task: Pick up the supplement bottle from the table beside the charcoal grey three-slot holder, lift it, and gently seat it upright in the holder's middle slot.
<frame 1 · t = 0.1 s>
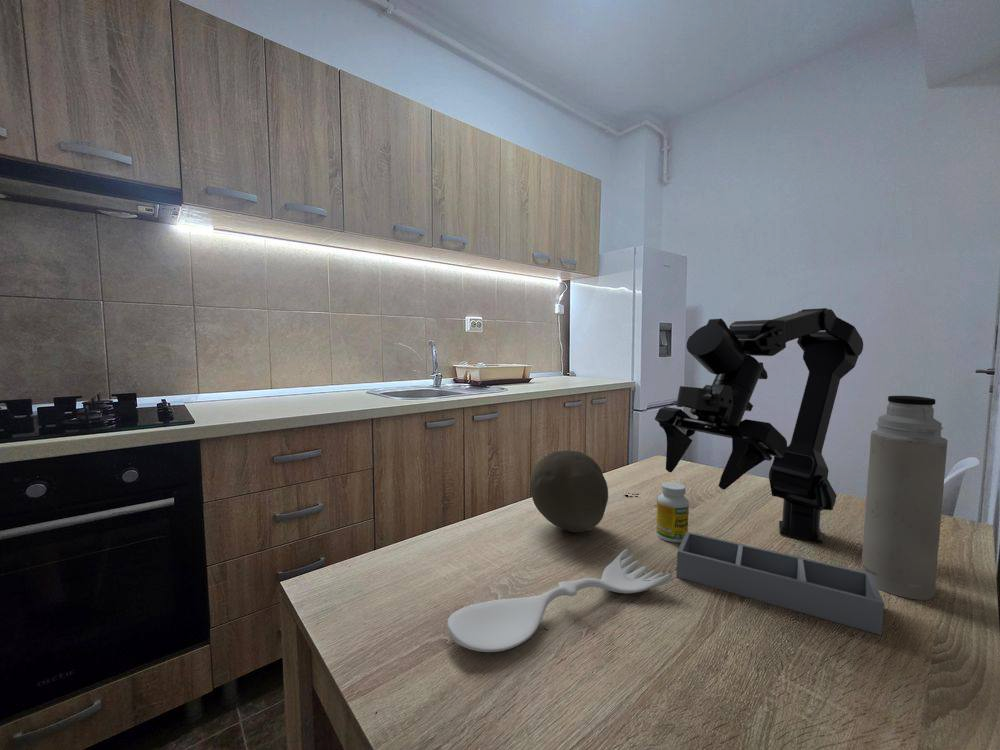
hand: (693, 479, 64), 15 cm above the table, tool tilted 30°, fingers open, 9 cm apart
slot holder: (768, 588, 61), on the table
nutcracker: (656, 506, 93), on the table
spoon: (563, 612, 56), on the table
thermos bottle: (895, 585, 63), on the table
brown coconut: (568, 530, 80), on the table
supplement bottle: (671, 537, 78), on the table
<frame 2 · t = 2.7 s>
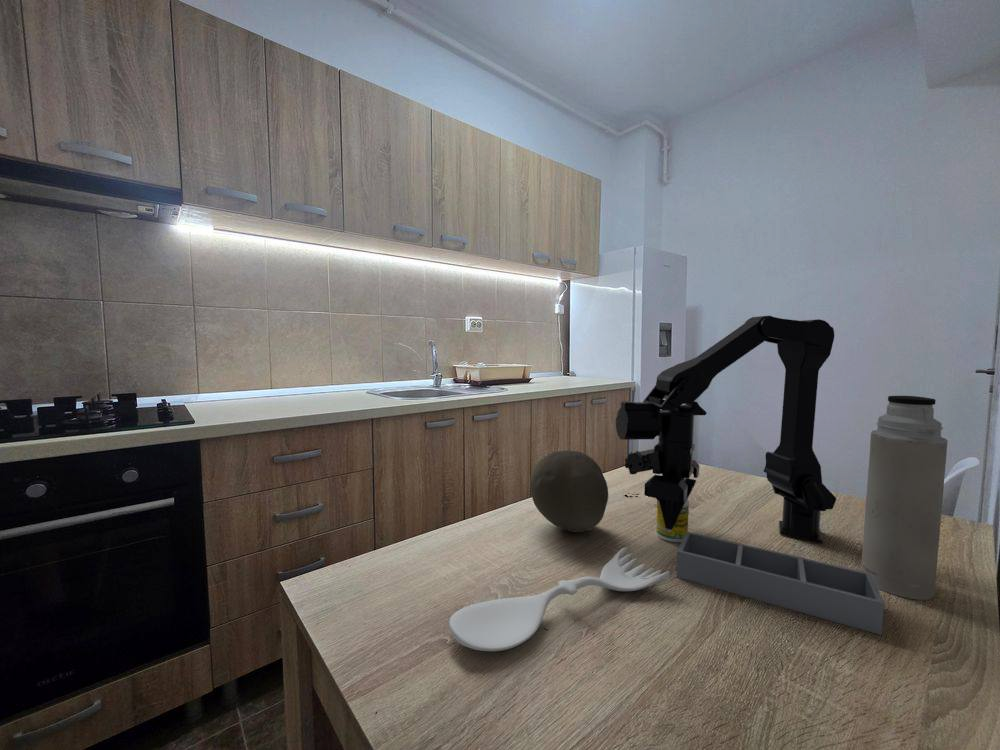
hand: (672, 523, 77), 3 cm above the table, tool pointing down, fingers closed on supplement bottle, 5 cm apart
supplement bottle: (671, 537, 78), on the table, touching gripper
everything else where it was.
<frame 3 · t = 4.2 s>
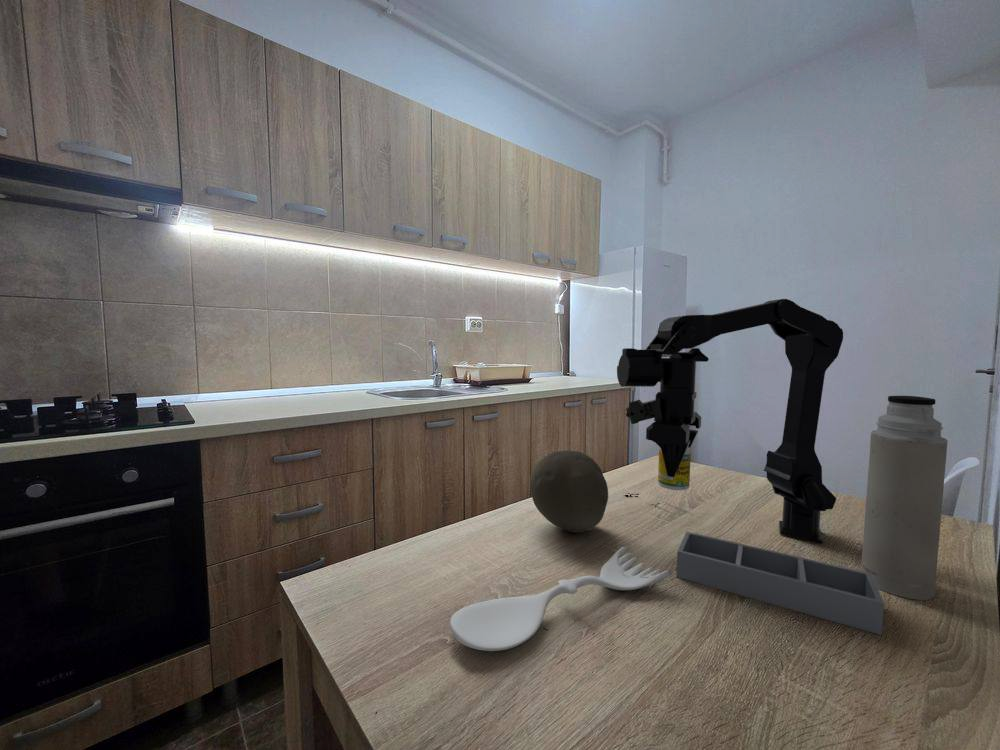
hand: (674, 472, 77), 12 cm above the table, tool pointing down, fingers closed on supplement bottle, 5 cm apart
supplement bottle: (673, 487, 77), point 9 cm above the table, touching gripper
everything else where it was.
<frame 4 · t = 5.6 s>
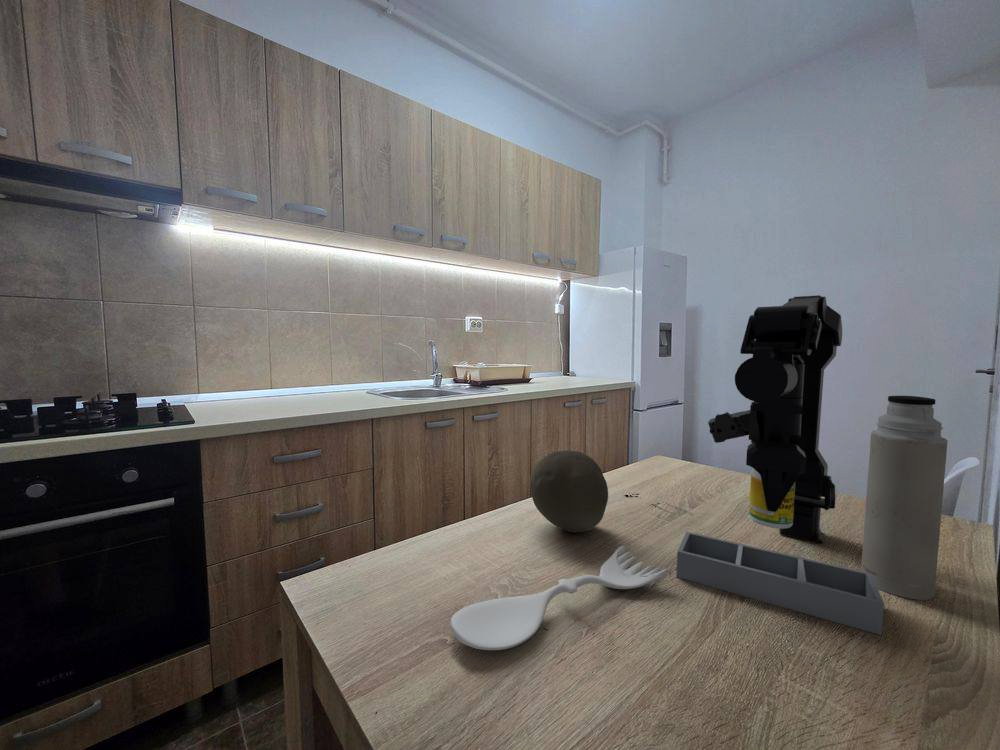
hand: (771, 504, 60), 12 cm above the table, tool pointing down, fingers closed on supplement bottle, 5 cm apart
supplement bottle: (770, 523, 61), point 10 cm above the table, touching gripper
everything else where it was.
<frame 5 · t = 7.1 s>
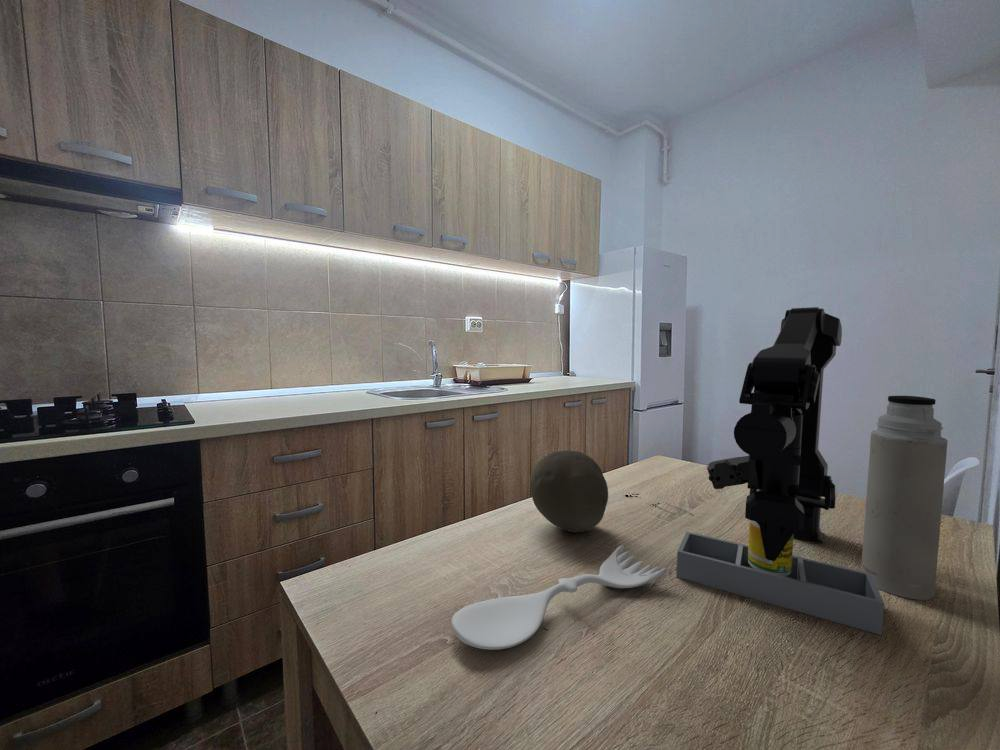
hand: (770, 551, 61), 6 cm above the table, tool pointing down, fingers closed on supplement bottle, 5 cm apart
supplement bottle: (768, 569, 61), point 3 cm above the table, touching gripper
everything else where it was.
when the fingers open (5 cm above the table, at t = 8.4 s): supplement bottle drops 1 cm, resting on slot holder.
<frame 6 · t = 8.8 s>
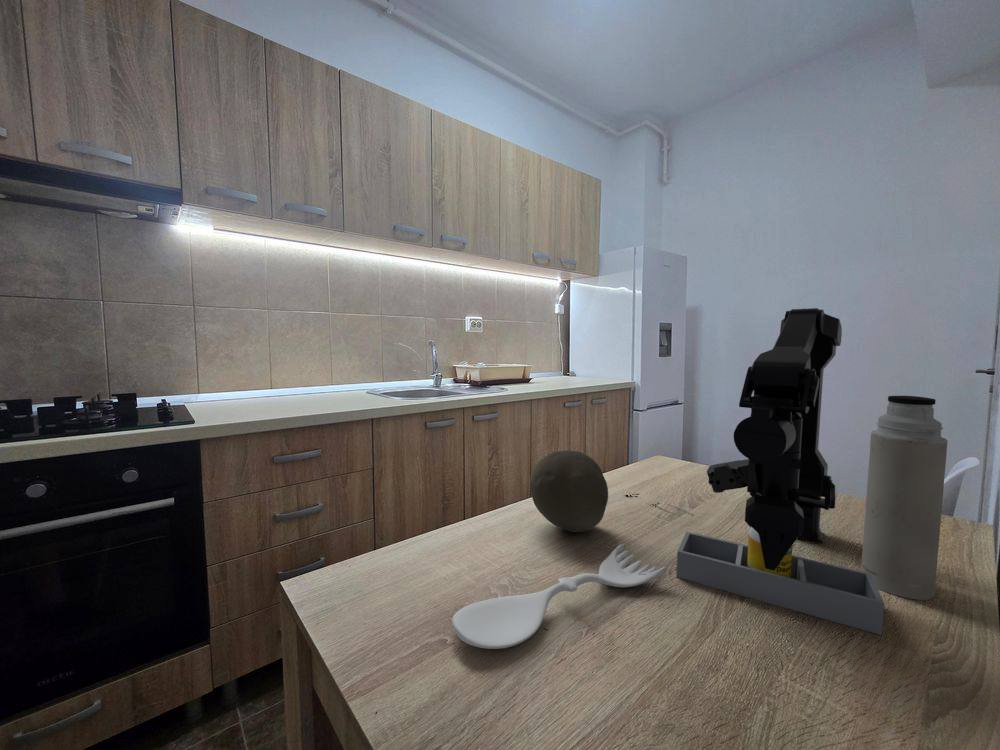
hand: (769, 555, 61), 5 cm above the table, tool pointing down, fingers open, 9 cm apart
supplement bottle: (767, 582, 61), point 1 cm above the table, touching slot holder
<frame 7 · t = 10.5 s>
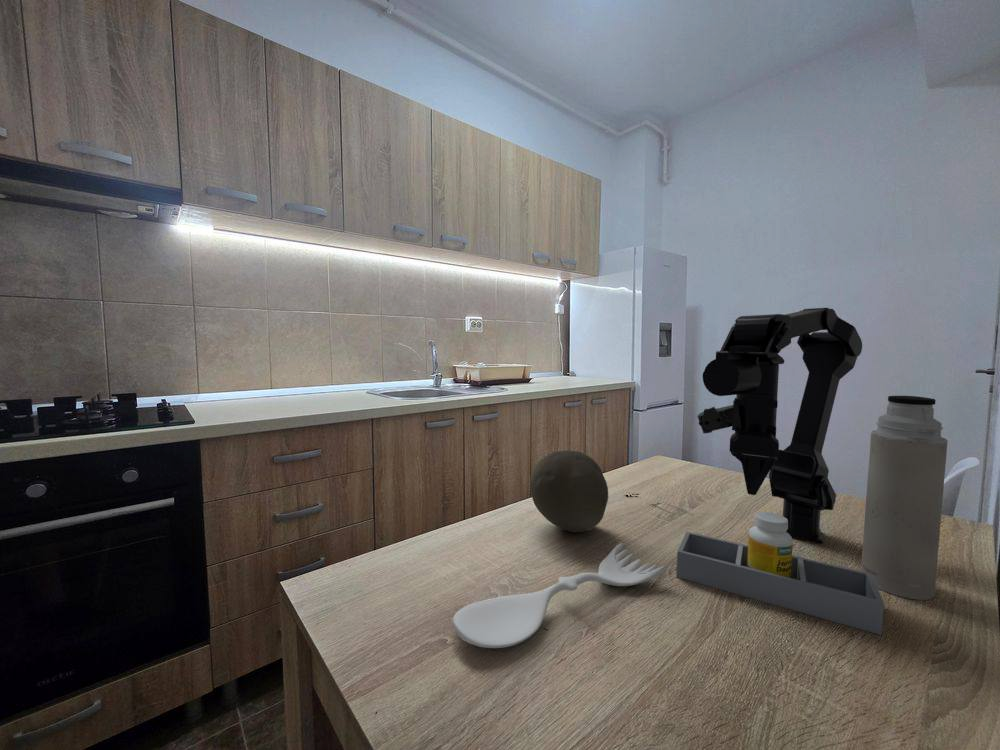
hand: (752, 486, 70), 12 cm above the table, tool pointing down, fingers open, 9 cm apart
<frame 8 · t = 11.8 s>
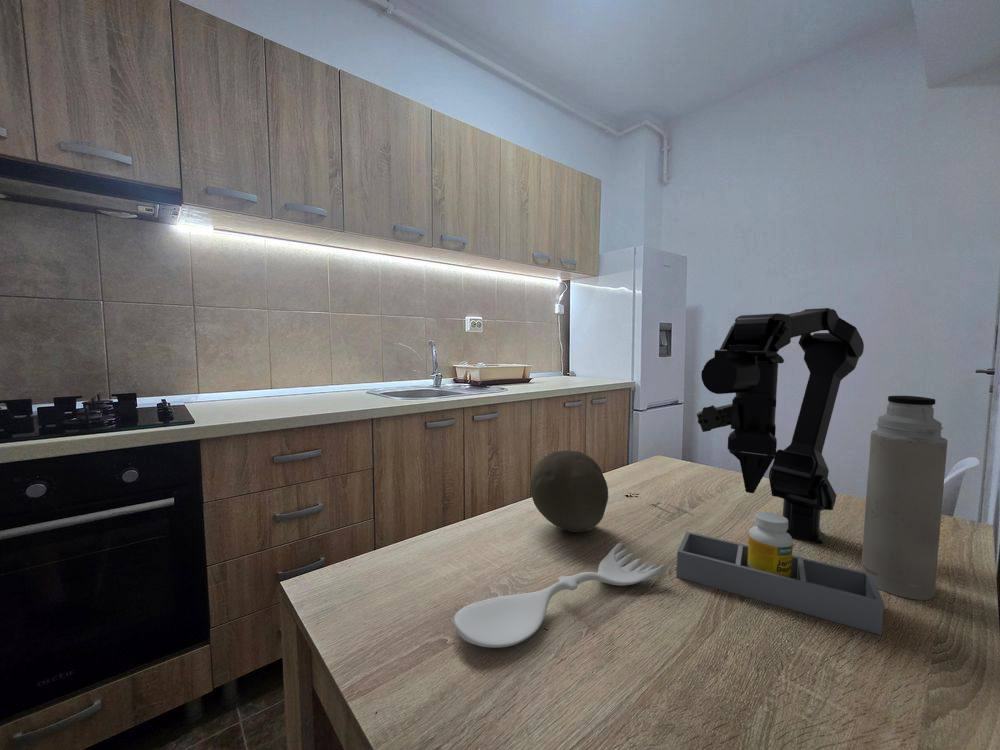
hand: (750, 484, 70), 12 cm above the table, tool pointing down, fingers open, 9 cm apart
at the end: supplement bottle 0.1 cm off-centre on the slot holder, point 0.8 cm above the slot holder's base; supplement bottle tilted 0°; the gripper is holding nothing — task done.
